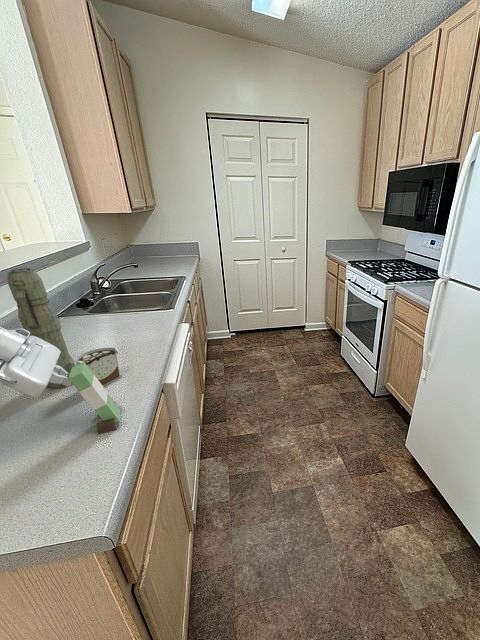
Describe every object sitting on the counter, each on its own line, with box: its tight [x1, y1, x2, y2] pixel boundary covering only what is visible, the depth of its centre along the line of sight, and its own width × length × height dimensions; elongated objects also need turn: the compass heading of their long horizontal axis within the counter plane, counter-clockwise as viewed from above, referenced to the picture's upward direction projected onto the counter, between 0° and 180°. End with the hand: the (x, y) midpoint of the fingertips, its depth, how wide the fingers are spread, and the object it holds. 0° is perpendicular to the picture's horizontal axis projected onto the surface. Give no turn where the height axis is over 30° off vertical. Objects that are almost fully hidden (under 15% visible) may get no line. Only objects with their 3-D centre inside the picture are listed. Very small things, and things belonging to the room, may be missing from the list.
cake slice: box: [75, 347, 121, 387], centre depth 103 cm, size 12×6×10 cm, turn 154°
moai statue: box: [7, 267, 76, 389], centre depth 98 cm, size 9×12×35 cm
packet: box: [69, 363, 121, 424], centre depth 83 cm, size 16×6×3 cm
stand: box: [95, 418, 118, 435], centre depth 86 cm, size 4×10×2 cm, turn 25°
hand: (72, 381), depth 79 cm, fingers closed, pressing on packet
